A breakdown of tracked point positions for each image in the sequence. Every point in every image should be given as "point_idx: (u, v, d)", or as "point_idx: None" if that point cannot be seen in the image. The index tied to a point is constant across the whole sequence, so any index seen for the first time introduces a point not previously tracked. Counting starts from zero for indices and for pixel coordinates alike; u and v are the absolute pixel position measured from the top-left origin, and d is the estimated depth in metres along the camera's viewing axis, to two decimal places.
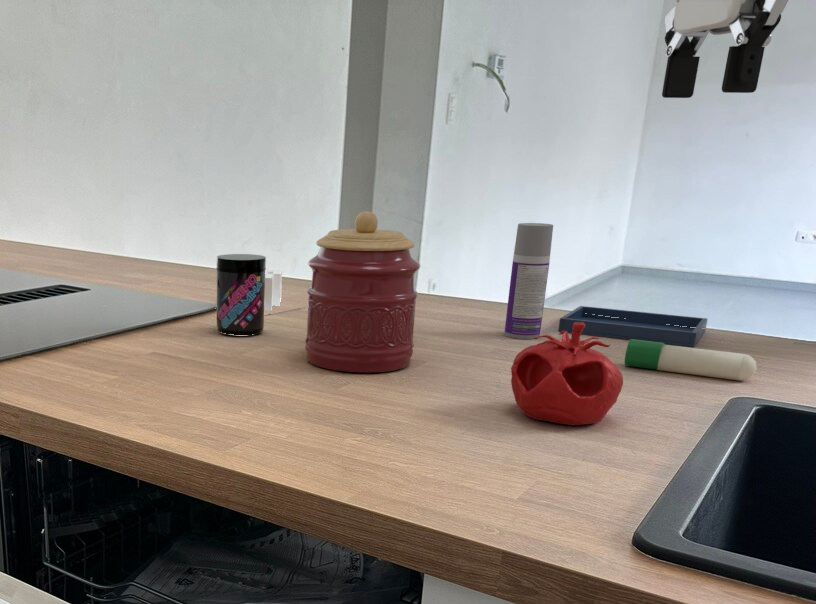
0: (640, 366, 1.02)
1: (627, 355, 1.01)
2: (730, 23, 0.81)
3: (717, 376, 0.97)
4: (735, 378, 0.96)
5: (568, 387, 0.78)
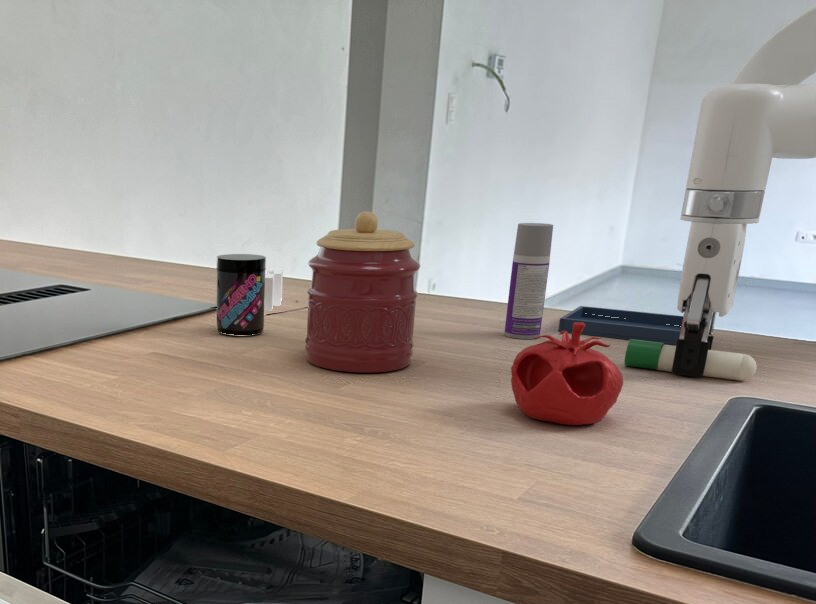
0: (640, 366, 1.02)
1: (627, 355, 1.01)
2: None
3: (717, 376, 0.97)
4: (735, 378, 0.96)
5: (568, 387, 0.78)
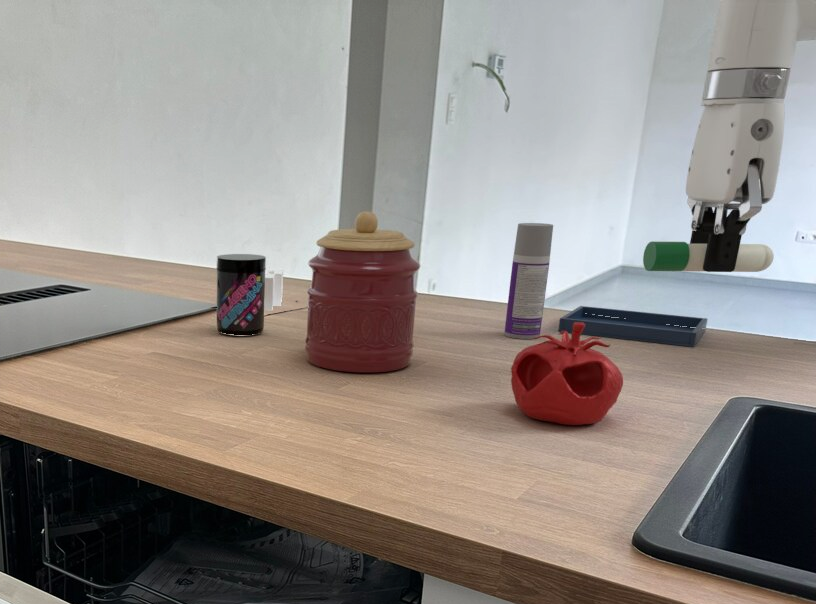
0: (666, 269, 0.95)
1: (658, 258, 0.94)
2: (717, 208, 0.91)
3: (740, 270, 0.95)
4: (757, 269, 0.95)
5: (568, 387, 0.78)
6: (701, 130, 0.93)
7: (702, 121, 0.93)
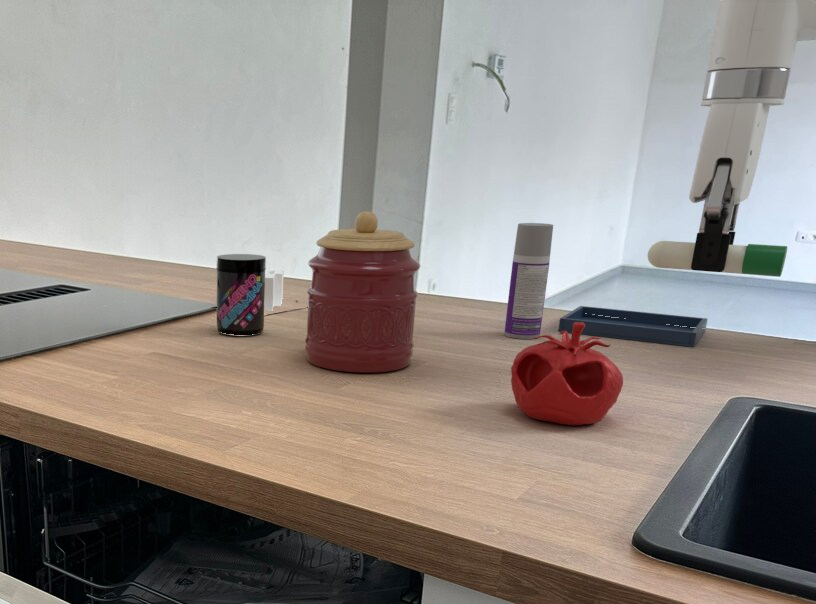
0: None
1: None
2: None
3: None
4: None
5: (568, 387, 0.78)
6: (759, 129, 0.87)
7: (760, 120, 0.87)
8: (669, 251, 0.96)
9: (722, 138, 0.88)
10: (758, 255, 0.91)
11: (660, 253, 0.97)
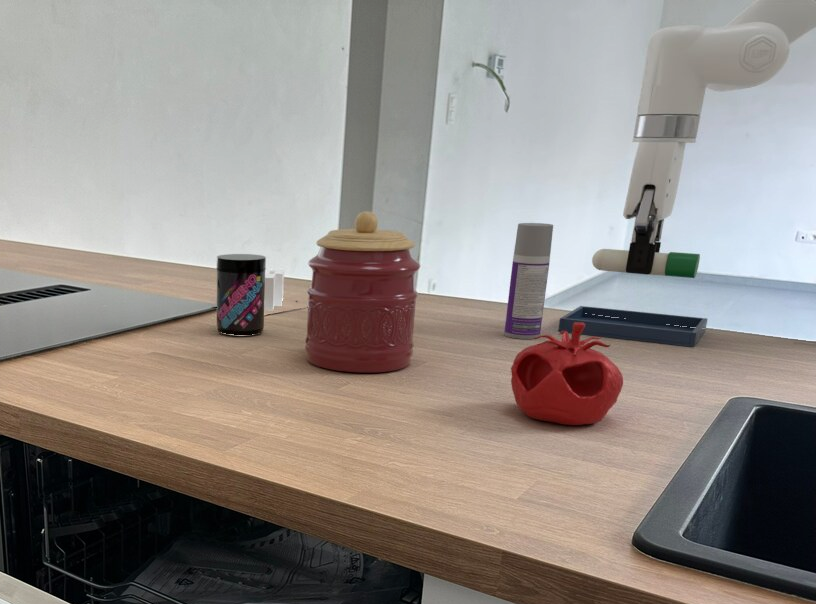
0: None
1: None
2: (663, 221, 1.18)
3: None
4: None
5: (568, 387, 0.78)
6: (676, 162, 1.11)
7: (676, 155, 1.10)
8: (608, 257, 1.20)
9: (648, 168, 1.11)
10: (677, 261, 1.15)
11: (601, 259, 1.20)
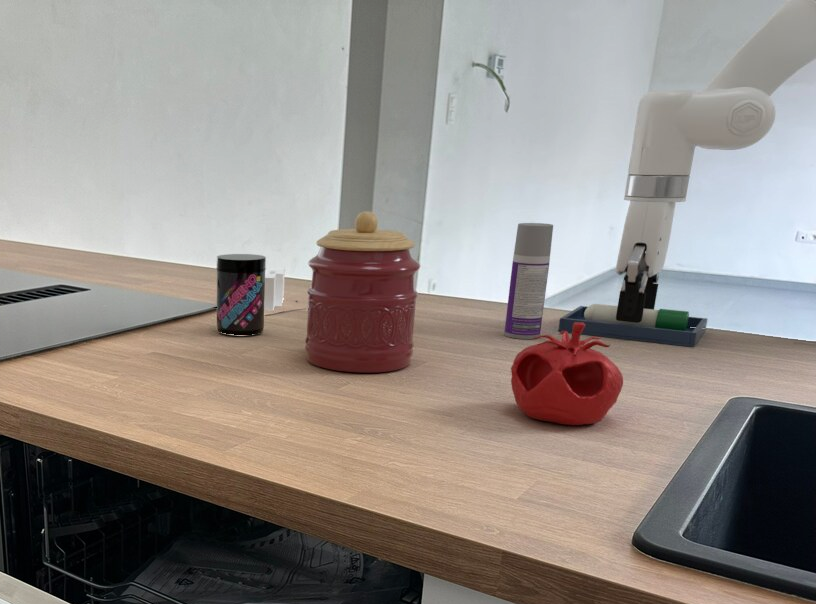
0: None
1: None
2: None
3: None
4: None
5: (568, 387, 0.78)
6: (667, 221, 1.14)
7: (667, 214, 1.13)
8: (600, 313, 1.22)
9: (639, 227, 1.14)
10: (666, 319, 1.18)
11: (593, 315, 1.23)
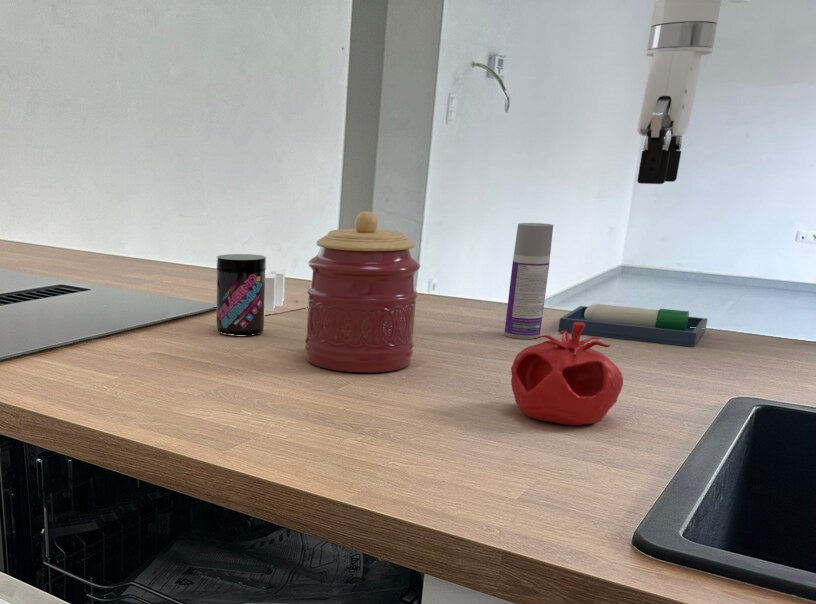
0: None
1: (686, 321, 1.19)
2: None
3: None
4: None
5: (568, 387, 0.78)
6: (692, 72, 1.07)
7: (693, 64, 1.07)
8: (600, 312, 1.22)
9: (663, 79, 1.07)
10: (667, 318, 1.18)
11: (593, 314, 1.23)
